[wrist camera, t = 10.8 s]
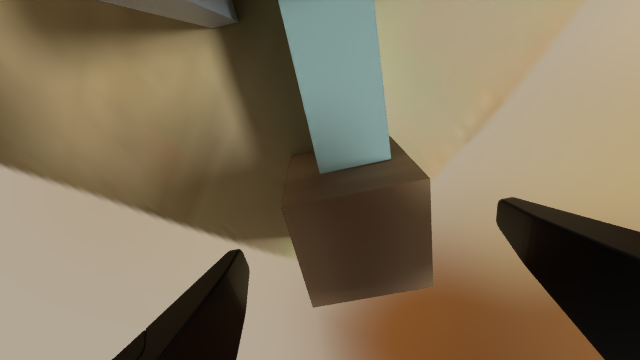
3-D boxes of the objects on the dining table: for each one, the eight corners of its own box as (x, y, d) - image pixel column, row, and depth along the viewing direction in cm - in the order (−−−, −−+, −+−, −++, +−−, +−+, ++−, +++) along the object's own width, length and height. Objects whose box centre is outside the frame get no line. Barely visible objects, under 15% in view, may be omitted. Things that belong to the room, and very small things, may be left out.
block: (389, 135, 12) (430, 178, 8) (396, 217, 14) (432, 286, 10) (291, 155, 12) (281, 207, 8) (312, 233, 14) (313, 307, 10)
